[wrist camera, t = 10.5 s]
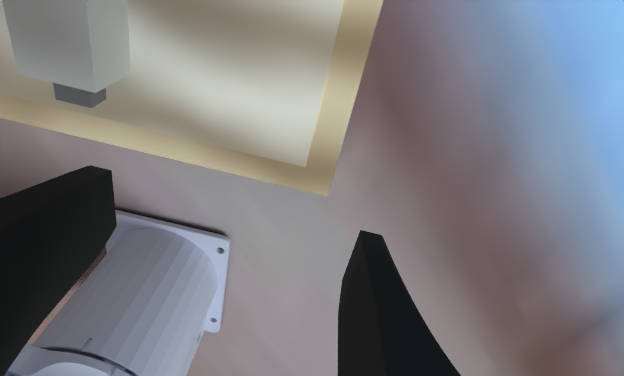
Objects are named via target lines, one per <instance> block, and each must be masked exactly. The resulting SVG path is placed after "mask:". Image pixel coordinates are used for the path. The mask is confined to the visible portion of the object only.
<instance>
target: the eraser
mask: <svg viewBox="0 0 624 376" xmlns="http://www.w3.org/2000/svg"><path fill="white" fill-rule="evenodd" d="M2 3H3V7H4V12H5V16H6V21H7V25H8V30H9V34H10V39H11V44H12V48H13V53H14V57H15V62H16V66H17V71H18V74H21V75H25V76H29V77H33V78H37V79H41V80H45V81H49V82H53V87H54V93H55V99H56V100H60V101H64V102H68V103H72V104H76V105H80V106H84V107H88V108H93V107H94V106H96V105H98V104H99V103H101V102H103V101H104V100H106V99H107V96H106V87H107V86H109V85H111V84H113V83H114V82H116V81H118V80H120V79H122V78H123V77H125V76H127V75H129V74H130V73H131V65H130V46H129V27H128V8H127V0H2Z"/></svg>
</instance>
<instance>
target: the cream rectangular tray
mask: <svg viewBox="0 0 624 376" xmlns="http://www.w3.org/2000/svg"><path fill="white" fill-rule="evenodd" d="M382 3H383V0H127V8H128V27H129V46H130V65H131V73H130V74H129V75H127V76H125V77H123V78H122V79H120V80H118V81H116V82H114V83H113V84H111V85H109V86H107V87H106V96H107V99H106V100H104V101H103V102H101V103H99V104H98V105H96V106H94V107H93V108H88V107H84V106H80V105H76V104H72V103H68V102H64V101H60V100H56V99H55V93H54V87H53V82H49V81H45V80H41V79H37V78H33V77H29V76H25V75H21V74H18V71H17V66H16V62H15V57H14V53H13V48H12V44H11V39H10V34H9V30H8V25H7V21H6V16H5V12H4V7H3V3H2V0H0V118H3V119H7V120H11V121H16V122H20V123H24V124H28V125H32V126H36V127H41V128H45V129H49V130H53V131H57V132H61V133H66V134H70V135H74V136H78V137H82V138H86V139H90V140H95V141H99V142H103V143H107V144H111V145H115V146H120V147H124V148H128V149H132V150H136V151H140V152H145V153H149V154H153V155H157V156H161V157H165V158H170V159H174V160H178V161H182V162H186V163H190V164H195V165H199V166H203V167H207V168H211V169H215V170H219V171H224V172H228V173H232V174H236V175H240V176H244V177H249V178H253V179H257V180H261V181H265V182H269V183H274V184H278V185H282V186H286V187H290V188H294V189H299V190H303V191H307V192H311V193H315V194H319V195H324V196H328V193H329V189H330V186H331V182H332V179H333V175H334V172H335V168H336V165H337V161H338V158H339V154H340V151H341V147H342V144H343V140H344V137H345V133H346V129H347V126H348V122H349V119H350V115H351V112H352V108H353V105H354V101H355V98H356V94H357V91H358V87H359V84H360V80H361V77H362V73H363V70H364V66H365V63H366V59H367V56H368V52H369V49H370V45H371V42H372V38H373V34H374V31H375V27H376V24H377V20H378V17H379V13H380V10H381V6H382Z"/></svg>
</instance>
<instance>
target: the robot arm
mask: <svg viewBox="0 0 624 376" xmlns="http://www.w3.org/2000/svg"><path fill="white" fill-rule="evenodd" d="M105 245H106V251H107V254H106V255H105V257H104V258H103V259H102V260H101V261H100V263H99V264H98V265H97V266H96V268H95V269H94V270H93V271H92V272H91V274H90V275H89V276H88V277H87V278H86V280H85V281H84V282H83V283H82V285H81V286H80V287H79V288H78V289H77V291H76V292H75V293H74V294H73V295H72V297H71V298H70V299H69V300H68V301H67V303H66V304H65V305H64V306H63V308H62V309H61V310H60V311H59V312H58V314H57V315H56V316H55V317H54V318H53V320H52V321H51V322H50V323H49V325H48V326H47V327H46V328H45V329H44V331H43V332H42V333H41V334H40V335H39V337H38V338H37V339H36V340H35V341H34V343H33V344H32V345H30V344H28V343H27V342H28V340H29V339H30V337H31V336H32V335H33V333H34V332H35V331H36V329H37V328H38V327H39V326H40V324H41V323H42V322H43V321H44V319H45V318H46V317H47V316H48V315H49V313H50V312H51V311H52V310H53V309H54V308H55V306H56V305H57V304H58V303H59V302H60V301H61V299H62V298H63V297H64V296H65V295H66V293H67V292H68V291H69V290H70V289H71V288H72V286H73V285H74V284H75V283H76V282H77V281H78V279H79V278H80V277H81V276H82V275H83V273H84V272H85V271H86V270H87V269H88V267H89V266H90V265H91V264H92V263H93V261H94V260H95V259H96V258H97V256H98V255H99V254H100V252H101V251H102V249H103V248H104V246H105ZM220 248H223V249H224V250H222V249H220ZM229 251H230V240H229V238H228V237H226V236H224V235H220V234H216V233H212V232H207V231H203V230H199V229H195V228H191V227H186V226H182V225H178V224H174V223H170V222H165V221H161V220H157V219H153V218H148V217H144V216H140V215H136V214H132V213H127V212H123V211H119V210H115V202H114V192H113V182H112V173H111V170H107V169H103V168H98V167H94V166H87V167H84V168H81V169H78V170H75V171H72V172H69V173H67V174H64V175H61V176H59V177H56V178H53V179H51V180H48V181H46V182H43V183H40V184H38V185H35V186H33V187H30V188H27V189H25V190H22V191H19V192H17V193H14V194H11V195H9V196H6V197H3V198H0V376H186V375H187V372H188V370H189V367H190V365H191V363H192V360H193V358H194V355H195V353H196V350H197V348H198V346H199V343H200V341H201V338H202V336H203V333H204V331H209V332H218V331H219V329H220V326H221V318H222V310H223V302H224V293H225V285H226V276H227V268H228V259H229ZM338 376H461V375H460V374H459V373H458V371H457V370H456V369H455V367H454V366H453V365H452V363H451V362H450V360H449V359H448V357H447V356H446V354H445V353H444V352H443V350H442V349H441V347H440V346H439V344H438V343H437V341H436V340H435V338H434V336H433V335H432V333H431V332H430V330H429V328H428V327H427V325H426V323H425V322H424V320H423V318H422V316H421V315H420V313H419V311H418V309H417V308H416V306H415V304H414V302H413V300H412V298H411V296H410V294H409V293H408V291H407V289H406V287H405V285H404V283H403V281H402V279H401V277H400V275H399V273H398V270H397V268H396V266H395V264H394V262H393V259H392V257H391V255H390V253H389V250H388V248H387V246H386V243H385V241H384V239H383V237H382V235H379V234H374V233H370V232H366V231H362V230H360V233H359V236H358V238H357V241H356V244H355V247H354V249H353V252H352V255H351V258H350V260H349V263H348V266H347V268H346V271H345V274H344V277H343V279H342V287H341V294H340V303H339V311H338Z"/></svg>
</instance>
